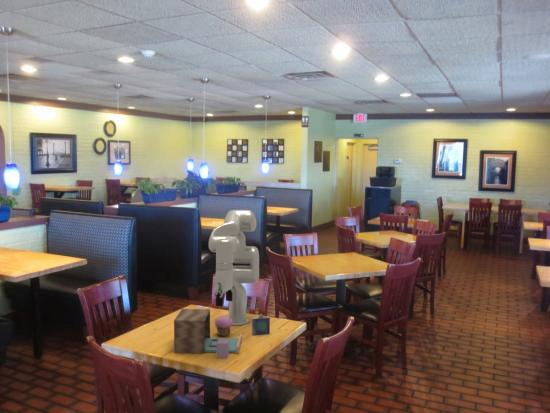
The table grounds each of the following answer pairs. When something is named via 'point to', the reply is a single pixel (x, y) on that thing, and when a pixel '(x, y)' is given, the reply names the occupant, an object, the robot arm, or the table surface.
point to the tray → (233, 342)
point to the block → (222, 348)
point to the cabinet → (191, 330)
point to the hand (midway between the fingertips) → (224, 303)
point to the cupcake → (223, 325)
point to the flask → (260, 325)
